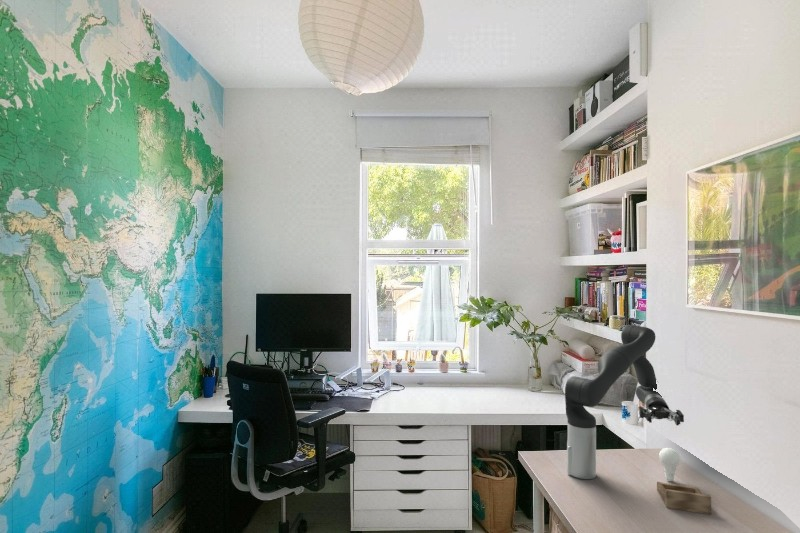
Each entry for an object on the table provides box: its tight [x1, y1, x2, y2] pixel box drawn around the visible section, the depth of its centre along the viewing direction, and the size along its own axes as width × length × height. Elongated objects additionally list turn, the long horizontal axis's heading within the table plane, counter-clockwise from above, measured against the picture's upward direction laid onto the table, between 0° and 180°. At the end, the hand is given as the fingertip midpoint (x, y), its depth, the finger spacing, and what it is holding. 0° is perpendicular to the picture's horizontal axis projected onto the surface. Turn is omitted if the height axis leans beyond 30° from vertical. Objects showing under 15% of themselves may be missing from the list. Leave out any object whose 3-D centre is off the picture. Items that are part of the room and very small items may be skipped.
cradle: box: [656, 481, 712, 515], centre depth 133 cm, size 11×11×5 cm
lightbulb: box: [658, 447, 681, 482], centre depth 147 cm, size 6×6×11 cm
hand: (664, 421), depth 157 cm, fingers open, 8 cm apart
